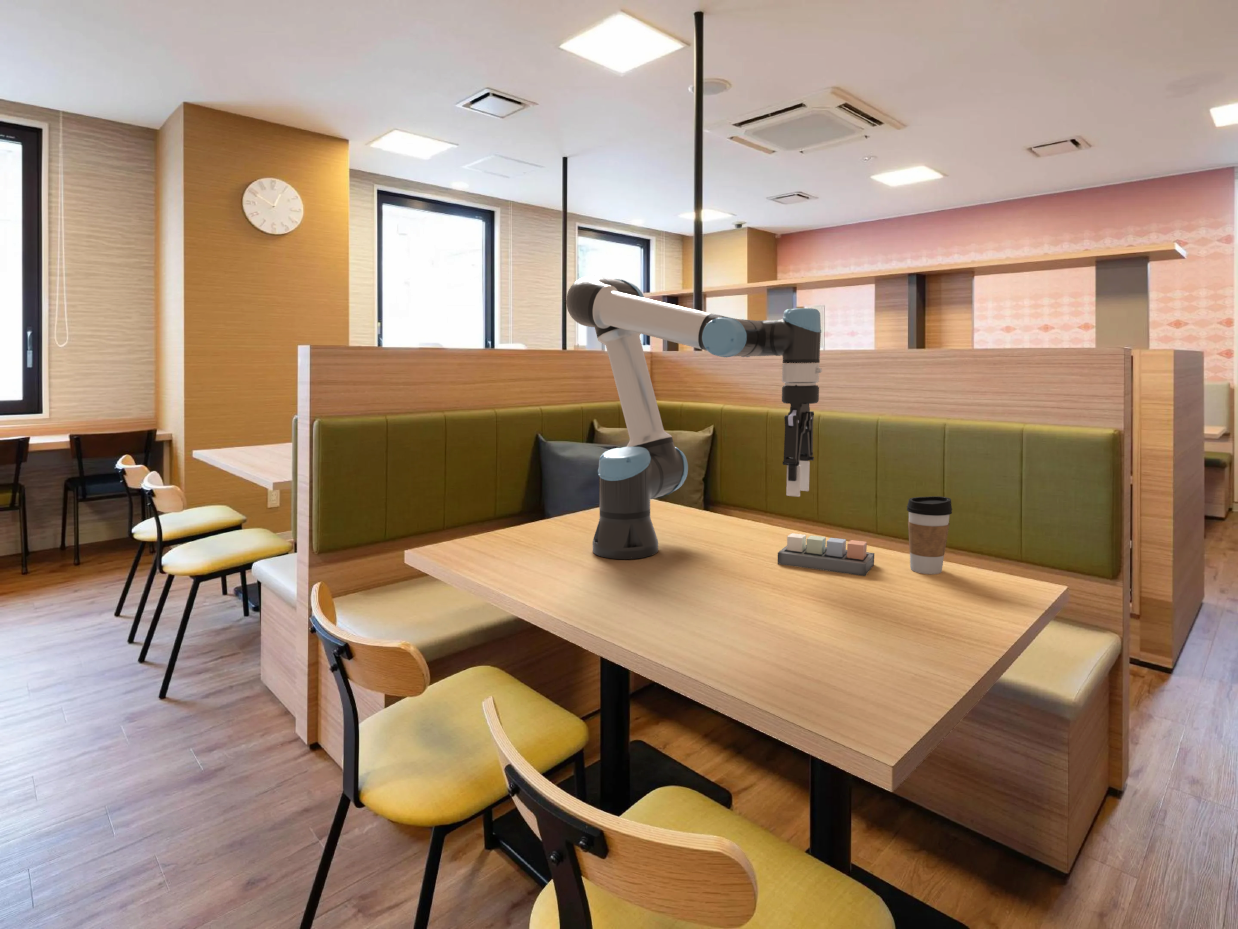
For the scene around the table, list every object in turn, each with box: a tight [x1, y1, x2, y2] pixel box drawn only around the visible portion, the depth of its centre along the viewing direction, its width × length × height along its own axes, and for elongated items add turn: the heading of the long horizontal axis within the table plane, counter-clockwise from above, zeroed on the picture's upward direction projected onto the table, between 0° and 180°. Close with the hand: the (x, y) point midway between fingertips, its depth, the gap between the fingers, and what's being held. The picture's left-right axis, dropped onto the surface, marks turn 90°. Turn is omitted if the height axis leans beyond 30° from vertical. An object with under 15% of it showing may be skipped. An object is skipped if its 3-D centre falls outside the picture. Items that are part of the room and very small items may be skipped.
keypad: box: [777, 544, 875, 577], centre depth 147 cm, size 18×9×2 cm, turn 60°
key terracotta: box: [846, 539, 868, 560], centre depth 143 cm, size 3×3×3 cm
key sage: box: [806, 535, 827, 554], centre depth 148 cm, size 3×3×3 cm
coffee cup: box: [906, 495, 953, 575], centre depth 141 cm, size 8×8×15 cm
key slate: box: [826, 537, 847, 557], centre depth 146 cm, size 3×3×3 cm
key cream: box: [786, 532, 807, 552], centre depth 150 cm, size 3×3×3 cm
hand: (797, 492), depth 148 cm, fingers open, 6 cm apart
